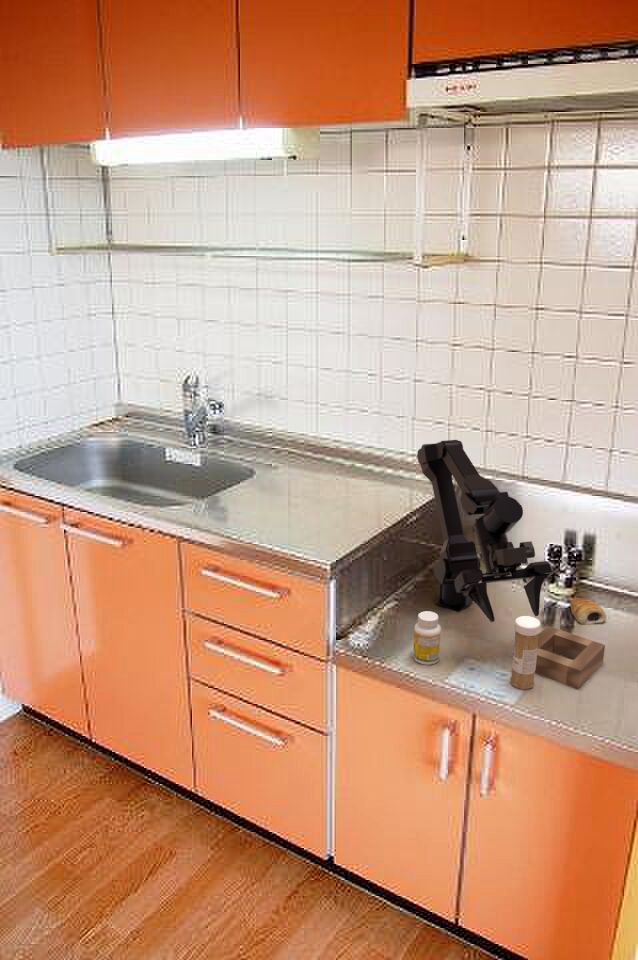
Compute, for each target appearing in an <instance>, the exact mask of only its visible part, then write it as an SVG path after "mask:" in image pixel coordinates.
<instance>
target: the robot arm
mask: <svg viewBox="0 0 638 960" xmlns="http://www.w3.org/2000/svg"><path fill="white" fill-rule="evenodd" d="M416 455H417V461H418V463H419V465H420V468H421V472H422V474H423V475H424V476H425V477H426V478H427V479H428V481H430V482H431V485H432V490H433V495H434V499H435V504H436V510H437V514H438V519H439V524H440V529H441V533H442V540H443V544H442V547H441V549H440V552H439V560H438V562H437V563H436V564H435V565H434V567H433V574H434V578H435V579H436V580H437V582H438V583H439V590H438V591H439V592H438V599H437V600H435V602H434V604H435V605H438V606H441V607H444V608H447V609H450V610H452V611H455V612H461V611H462V610H464V609H466V608H467V607H468V606H470V605H471V604H472V603H475V604H476V606H477V607H479V609H480V610H481V612H482V613H483V614H484V615H485V616H486V618H487V619H488V620H489V621H490V622H491V623H494V622H495V615H494V610H493V607H492V604H491V601H490V598H489V596H488V595H489V594H488V590H487V587H488V586H487V584H491V583H498V582H499V583H500V582H508V581H515V580H517V581H518V580H523V583H525V584H524V586H523V589H524V591H525V594H526V597H527V599H528V602H529V603H528V604H529V606H530V609H531V611H532V613H533V616H535V617H538V616H540V605H541V604H540V602H541V591H542V586H543V584H544V583H545V582H546V581H547V580H548V579H549V577H551V575H553V574H554V570H553V567H552V564H551V563H549V562H548V561H546V560H543V561H536V562H535V561H534V562H530V563H529V562H528V559H533V558H535V556H536V552H535V546H534V544H533V541H523V542H519V547H515V546H514V544H513V542H512V541H509V540H508V536H507V534H508V533H509V532H510V531H511V530H512V529H513V528H514V527H515V526H516V525H517V524H518V522H519V521H521V519H522V517H523V515H524V510H523V506H522V504H520V502H519V501H518V500H517V499H515V498H513V497H511V496H509V492H508V491H500V490H499V489H498V487H497V486H496V485H495V484H494V483H493V482H492V481H491V480H489V479H488V478H486V477H482V476H481V475H480V473H479V471H478V470H477V468H476V467H475V466H474V464H473V462H472V461H471V459H470V457H469V456H468V455H467V453H466V451H465V450H464V446H463V442H462V441H461V440H458V439H447V440H441V441H439V442H435V443H423V444H422V445H421V448H419V449H418V451H417V454H416ZM453 478H454V480H455V483H457V486H458V487H459V488H460V490H461V493H460V498H459V500H460V504H461V507H462V509H463V510H464V512H465V513H466V515H468V516H476V515H477V516H478V515H481V516H480V517H478V518H475V519H474V523H473V525H472V527H471V531H472V532H473V533H475V534H476V538H477V541H478V545H479V549H480V553H479V554H478V553H477V548H476V547H477V546H476V544H475V542H474V541H471V540H469V539H468V538H467V537H466V536H465V533H464V528H463V524H462V519H461V514H460V510H459V503H458V500H457V499H458V498H457V496H456V491H455V486H454V480H453ZM478 555H479V556H478ZM480 560H483V564H484V566H485V567H484V568H485V570H486V572H485V573H483V571H482V570H481V561H480ZM523 564H525V565H526V564H528V565H526V566H525V567H524V568H520V567H521V566H522V565H523ZM517 568H520V569H517ZM535 617H534V618H535Z"/></svg>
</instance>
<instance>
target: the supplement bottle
mask: <svg viewBox="0 0 638 960" xmlns="http://www.w3.org/2000/svg"><path fill="white" fill-rule="evenodd" d="M413 628H414V629H413V630H414V631H413V652H412V654H413V655H412V656H413V659H414V660H415V661H416V662H417V663H419V664H420V665H421V664H422V665H425V666H428V665H430V666H431V665H434V664H436V663H438V662H439V661H440V657H441V642H442V641H441V640H442V627H441V625H440V624H439V615H438V614H437V613H435V612H434V611H429V610H428V611H427V610H426V611H422V612H420V613H419V612H418V615H417V623H415V625H414V627H413Z"/></svg>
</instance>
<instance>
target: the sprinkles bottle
mask: <svg viewBox="0 0 638 960" xmlns="http://www.w3.org/2000/svg"><path fill="white" fill-rule="evenodd" d="M514 631H515V634H514V641H513V642H514V644H513V652H512V660H511V661H512V662H511V673H510V674H511V675H510V676H511V677H510V679H509V681H510V684H511V685H512V686H514V687H515V688H516V689H520V690H529V689H531V688H533V687H534V686H535V674H536V673H535V669H536V659H537V649H538V635H539V633H540V631H541V621H540V620H539V619H537V618H535V617H533V616H530V615H529V616H528V615H522V616H521V615H520V616H518V617H517V618H516V619H515V621H514Z"/></svg>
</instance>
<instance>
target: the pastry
mask: <svg viewBox="0 0 638 960" xmlns="http://www.w3.org/2000/svg"><path fill="white" fill-rule="evenodd" d="M569 604H570V606H569V607H570V610H571V614H572V615H573V617H574V619H576V621H577V623H579V624H581V625H586V626H587V625H588V626H589V625H593V624H602V623H604V622H605V621H606V620H607V615H606V611H605V610H604V609H603V607H602V606H600V604H599V603H597V602H594V601H592V600H590V599H587V598H580V597H575V598H572V599H571V601H570V603H569Z"/></svg>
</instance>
